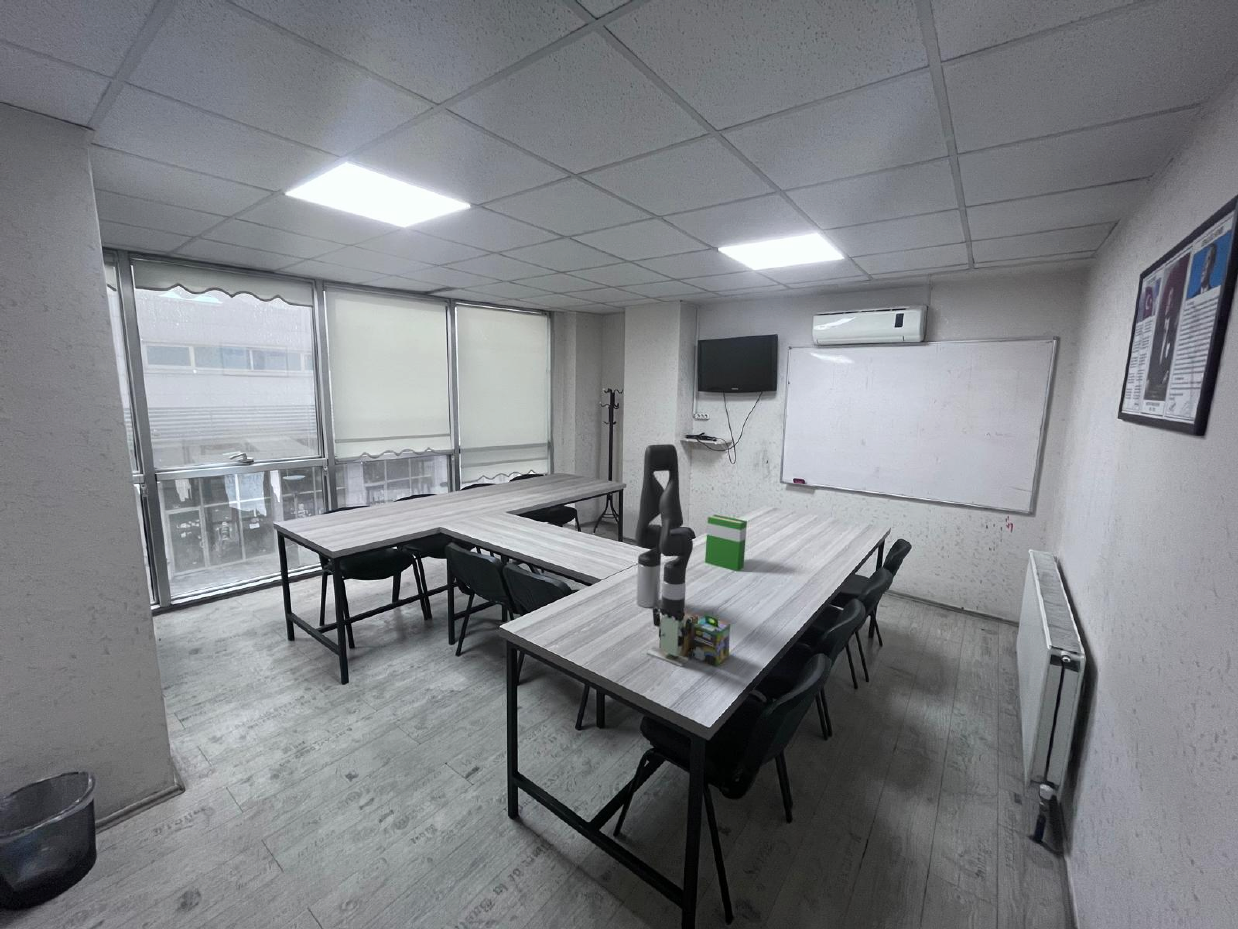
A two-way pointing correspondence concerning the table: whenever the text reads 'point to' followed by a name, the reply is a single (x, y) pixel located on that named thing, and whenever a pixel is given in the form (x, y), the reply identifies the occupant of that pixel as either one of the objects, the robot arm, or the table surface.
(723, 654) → the chalk box
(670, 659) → the small wooden cupboard
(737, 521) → the hardback book
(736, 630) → the table surface
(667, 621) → the hollow square pipe
